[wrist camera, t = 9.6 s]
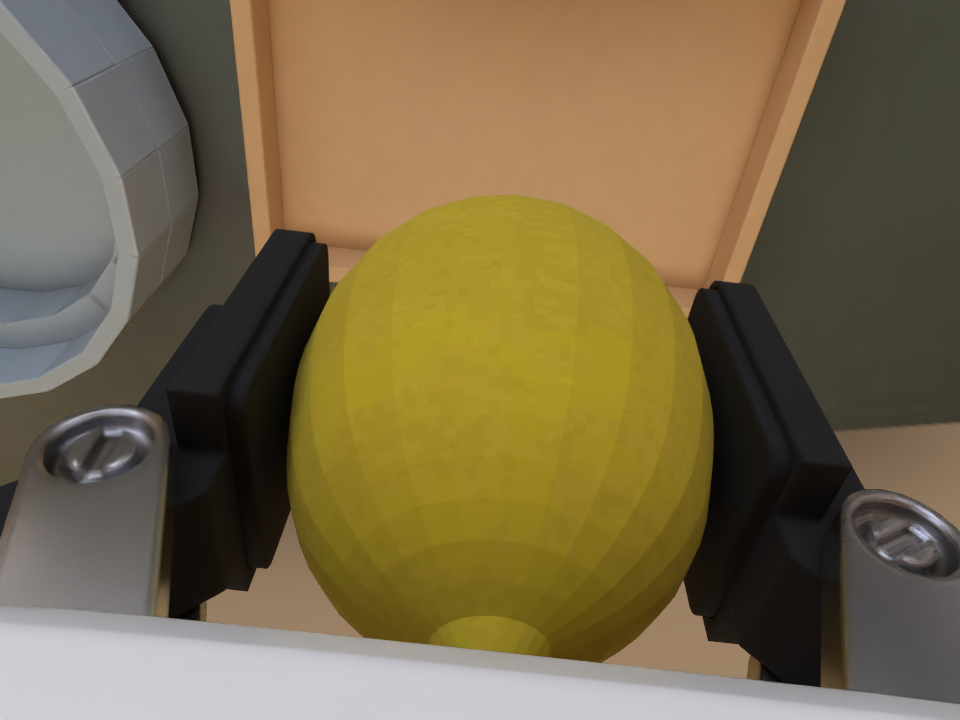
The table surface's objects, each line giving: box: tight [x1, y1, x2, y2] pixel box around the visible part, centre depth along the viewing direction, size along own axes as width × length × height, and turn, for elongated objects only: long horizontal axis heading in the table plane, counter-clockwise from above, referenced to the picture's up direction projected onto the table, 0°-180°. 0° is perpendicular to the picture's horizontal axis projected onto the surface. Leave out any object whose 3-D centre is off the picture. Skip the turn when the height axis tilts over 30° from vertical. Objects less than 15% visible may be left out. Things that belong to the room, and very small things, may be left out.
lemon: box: [286, 195, 714, 663], centre depth 10 cm, size 6×6×8 cm
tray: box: [230, 0, 846, 319], centre depth 21 cm, size 16×12×2 cm
